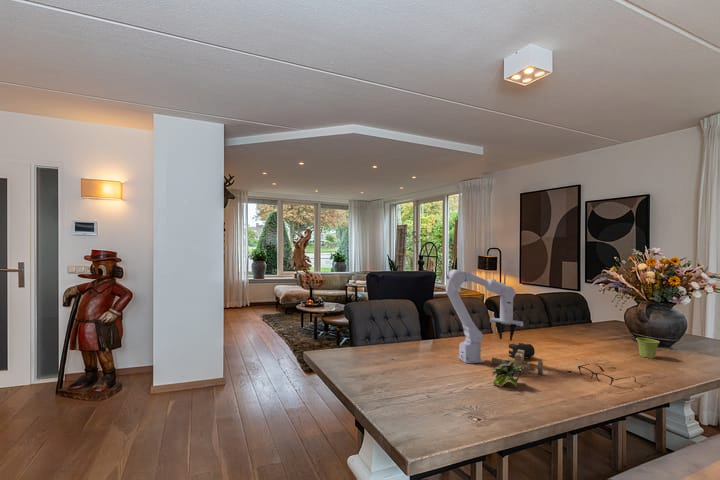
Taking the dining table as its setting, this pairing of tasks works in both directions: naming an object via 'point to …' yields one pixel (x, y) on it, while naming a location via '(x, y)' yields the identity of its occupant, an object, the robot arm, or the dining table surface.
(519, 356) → the hinged leg
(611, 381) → the eyeglasses
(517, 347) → the end cap
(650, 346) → the plant pot
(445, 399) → the dining table surface
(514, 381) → the leafy green plant
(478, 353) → the robot arm
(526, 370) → the stool base
